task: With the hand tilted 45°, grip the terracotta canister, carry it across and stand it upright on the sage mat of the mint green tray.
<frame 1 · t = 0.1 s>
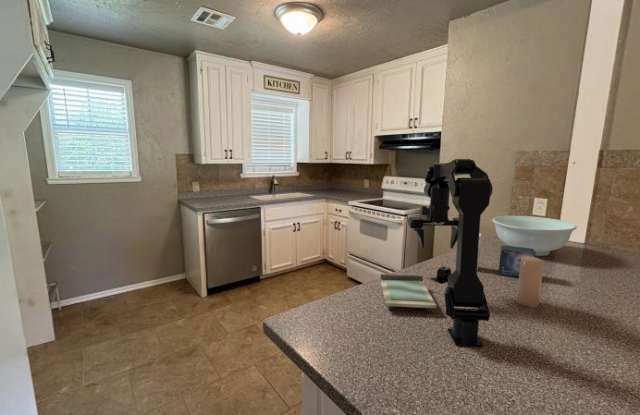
hand: (436, 248, 99), 15 cm above the countertop, tool pointing down, fingers open, 9 cm apart
small box: (514, 275, 113), on the countertop
mint green tray: (405, 299, 95), on the countertop
bowl: (528, 251, 142), on the countertop
canister: (527, 302, 91), on the countertop
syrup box: (470, 268, 121), on the countertop
dark piece: (443, 280, 110), on the countertop
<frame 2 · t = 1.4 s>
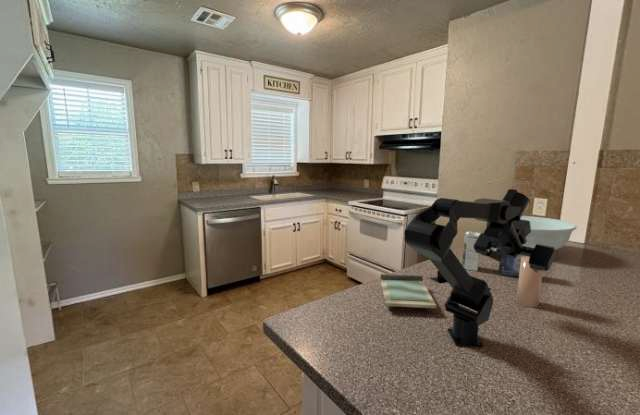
hand: (519, 266, 85), 13 cm above the countertop, tool tilted 45°, fingers open, 9 cm apart
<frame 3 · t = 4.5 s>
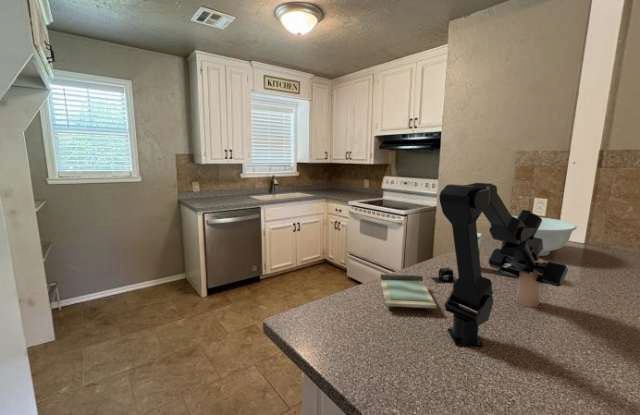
hand: (531, 280, 91), 7 cm above the countertop, tool tilted 45°, fingers closed on canister, 6 cm apart
canister: (527, 302, 92), on the countertop, touching gripper
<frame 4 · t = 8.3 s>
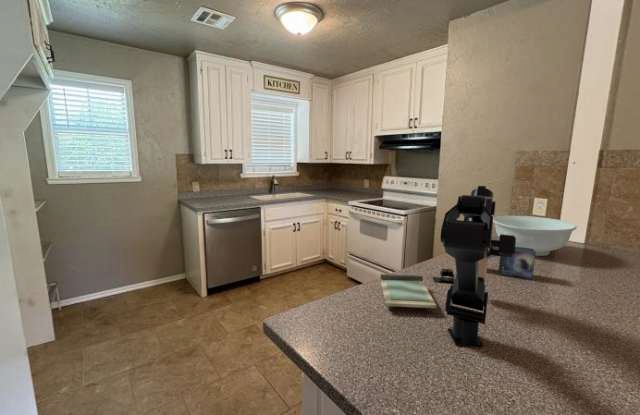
hand: (477, 255, 94), 14 cm above the countertop, tool tilted 45°, fingers closed on canister, 6 cm apart
canister: (475, 278, 94), point 7 cm above the countertop, touching gripper
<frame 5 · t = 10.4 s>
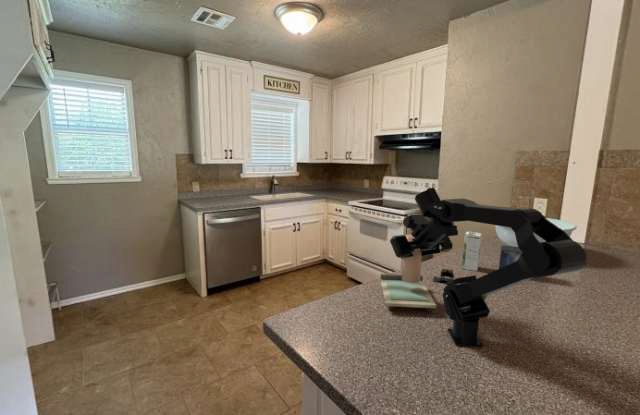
hand: (409, 256, 94), 13 cm above the countertop, tool tilted 45°, fingers closed on canister, 6 cm apart
canister: (410, 279, 94), point 6 cm above the countertop, touching gripper
when the fingers open (11 cm above the countertop, at t = 11.9 s): canister drops 1 cm, resting on mint green tray.
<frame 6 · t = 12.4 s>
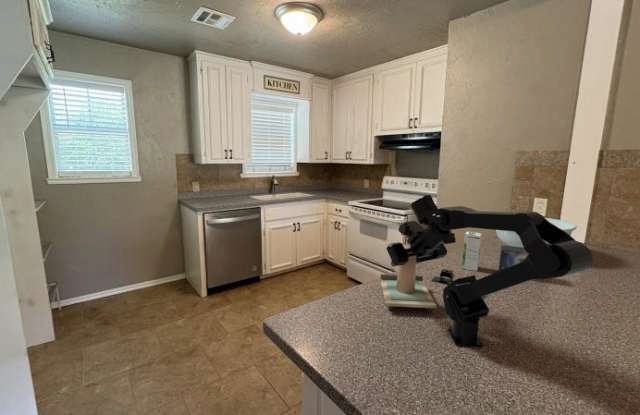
hand: (403, 263, 94), 12 cm above the countertop, tool tilted 45°, fingers open, 9 cm apart
canister: (405, 289, 94), point 3 cm above the countertop, touching mint green tray
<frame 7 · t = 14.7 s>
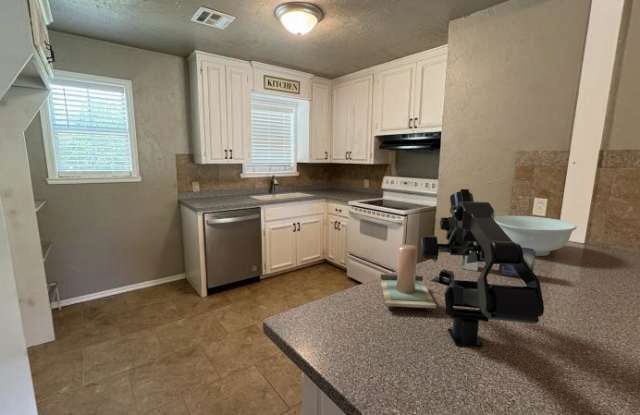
hand: (450, 261, 89), 14 cm above the countertop, tool tilted 45°, fingers open, 9 cm apart
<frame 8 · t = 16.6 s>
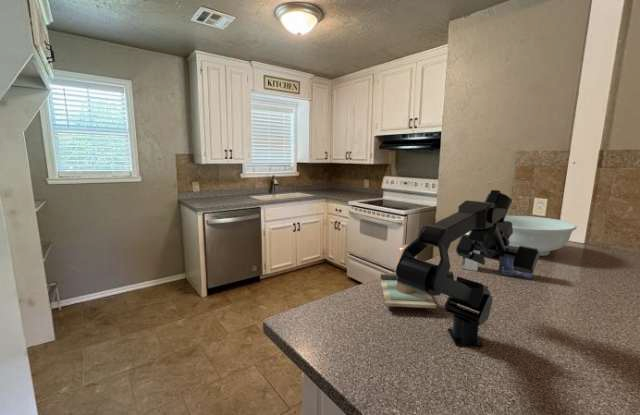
hand: (501, 267, 84), 14 cm above the countertop, tool tilted 45°, fingers open, 9 cm apart
at the end: canister inside the target area on the mint green tray (0.0 cm from its centre), point 3.2 cm above the mint green tray's base; canister tilted 0°; the gripper is holding nothing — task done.
